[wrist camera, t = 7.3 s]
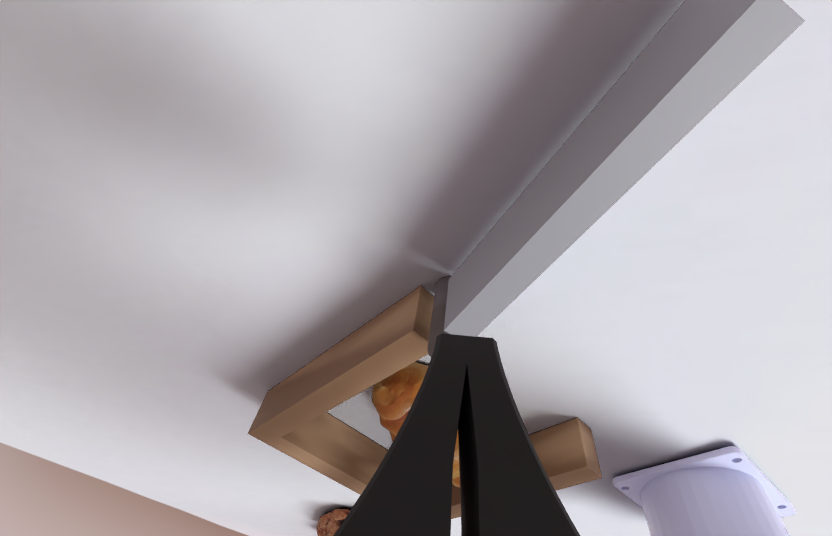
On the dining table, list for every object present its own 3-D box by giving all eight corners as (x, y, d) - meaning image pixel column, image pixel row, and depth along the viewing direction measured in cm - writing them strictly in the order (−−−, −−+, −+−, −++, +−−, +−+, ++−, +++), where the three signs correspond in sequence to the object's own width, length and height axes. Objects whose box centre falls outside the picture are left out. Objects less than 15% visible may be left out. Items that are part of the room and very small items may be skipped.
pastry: (351, 380, 26) (335, 436, 23) (429, 335, 23) (422, 394, 20) (449, 448, 30) (446, 505, 27) (529, 418, 26) (536, 478, 23)
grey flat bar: (470, 291, 19) (469, 343, 17) (448, 279, 19) (443, 330, 16) (735, 4, 12) (804, 20, 9) (704, -22, 11) (767, -13, 9)
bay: (616, 420, 25) (636, 489, 22) (425, 486, 33) (419, 542, 30) (446, 267, 19) (440, 330, 16) (267, 391, 28) (240, 449, 24)
